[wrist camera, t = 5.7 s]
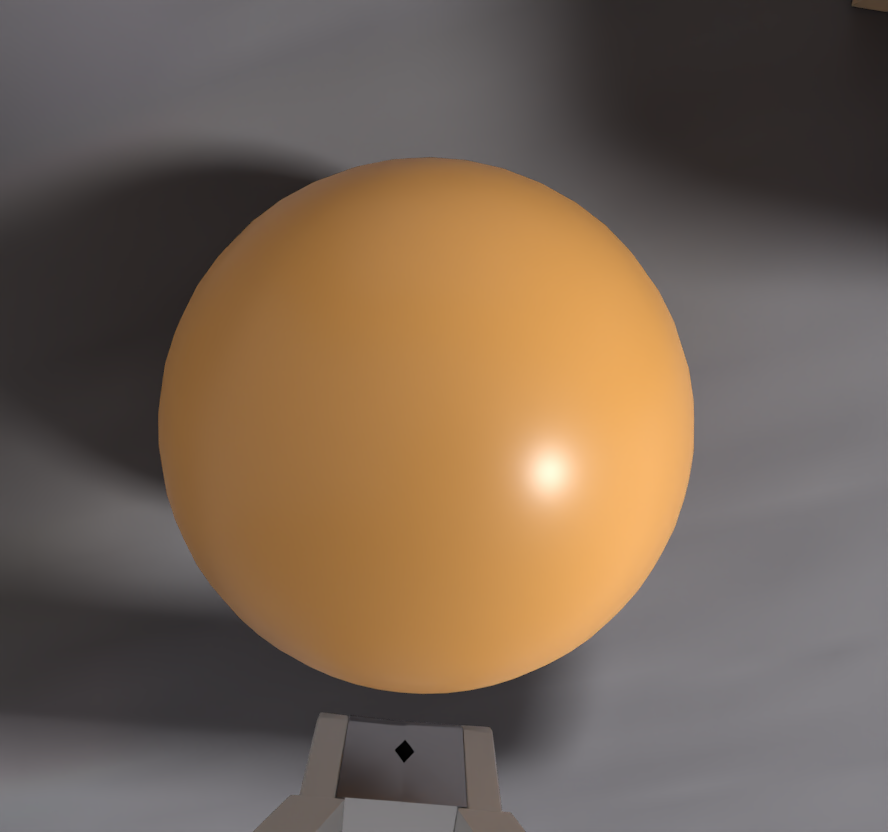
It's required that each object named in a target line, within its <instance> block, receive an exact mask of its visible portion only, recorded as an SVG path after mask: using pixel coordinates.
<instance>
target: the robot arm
mask: <svg viewBox="0 0 888 832" xmlns="http://www.w3.org/2000/svg"><path fill="white" fill-rule="evenodd" d="M253 832H526V831H525V830H524V829H523V827H522V826H521V825H520V824H519V822H518V821H517V820H516V818H515V817H514V816H513V815H512V813H510V812H502V806H501V797H500V789H499V781H498V772H497V764H496V756H495V748H494V739H493V732H492V730H491V728H490V727H482V726H468V725H462V726H461V725H453V724H440V723H426V722H413V721H399V720H390V719H381V718H372V717H363V716H355V715H350V717H349V716H348V715H339V714H331V713H323V712H320V714H319V717H318V719H317V722H316V727H315V731H314V735H313V739H312V744H311V748H310V752H309V756H308V761H307V765H306V769H305V774H304V778H303V782H302V786H301V791H300V795H290V796H289V797H288V798H287V799H286V800H285V801H284V802H283V803H282V804H281V805H280V806H279V807H278V808H277V809H276V810H274V811H273V812H272V813H271V814H270V815H269V816H268V817H267V818H266V819H265V820H264V821H263V822H262V823H261V824H260V825H259V826H258V827H257V828H256V829H255V830H254V831H253Z"/></svg>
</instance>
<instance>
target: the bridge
mask: <svg viewBox="0 0 888 832" xmlns="http://www.w3.org/2000/svg"><path fill="white" fill-rule="evenodd" d="M851 6H853V7H860V8H866V9H872V10H878V11H884V12H888V0H853V1H852V5H851Z"/></svg>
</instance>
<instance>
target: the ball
mask: <svg viewBox="0 0 888 832" xmlns="http://www.w3.org/2000/svg"><path fill="white" fill-rule="evenodd" d="M158 432H159V450H160V456H161V463H162V469H163V475H164V481H165V486H166V492H167V496H168V499H169V502H170V505H171V508H172V511H173V514H174V517H175V520H176V523H177V525H178V527H179V529H180V531H181V534H182V536H183V538H184V540H185V542H186V544H187V546H188V548H189V550H190V552H191V554H192V556H193V558H194V560H195V562H196V564H197V566H198V567H199V569H200V570H201V571H202V573H203V574H204V576H205V577H206V579H207V580H208V582H209V583H210V585H211V586H212V587H213V588H214V589H215V591H216V592H217V593H218V594H219V595H220V596H221V598H222V599H223V600H224V601H225V602H226V603H227V604H228V605H229V607H230V608H231V609H232V610H233V611H234V612H235V613H236V615H237V616H238V617H239V618H240V619H241V620H242V621H243V622H244V623H246V624H247V625H248V626H249V627H250V628H251V629H252V630H253V631H255V632H256V633H257V634H258V635H259V636H261V637H262V638H263V639H265V640H266V641H268V642H269V643H270V644H272V645H273V646H275V647H276V648H278V649H279V650H281V651H282V652H284V653H286V654H288V655H290V656H291V657H293V658H295V659H297V660H298V661H300V662H302V663H304V664H306V665H308V666H309V667H311V668H314V669H316V670H318V671H320V672H323V673H325V674H327V675H330V676H332V677H335V678H338V679H341V680H344V681H347V682H350V683H353V684H356V685H361V686H365V687H369V688H374V689H378V690H385V691H392V692H400V693H417V694H434V693H452V692H460V691H468V690H474V689H478V688H483V687H488V686H492V685H496V684H499V683H502V682H505V681H508V680H512V679H515V678H517V677H520V676H522V675H524V674H527V673H529V672H531V671H534V670H536V669H538V668H541V667H543V666H545V665H547V664H549V663H551V662H553V661H555V660H557V659H558V658H560V657H562V656H564V655H566V654H568V653H569V652H571V651H572V650H574V649H575V648H577V647H578V646H579V645H581V644H582V643H584V642H585V641H587V640H588V639H590V638H591V637H592V636H593V635H594V634H595V633H596V632H597V631H599V630H600V629H601V628H602V627H603V626H604V625H605V624H607V623H608V622H609V621H610V620H611V619H612V618H613V617H614V616H615V615H616V614H617V613H618V612H619V611H620V610H621V609H622V608H623V607H624V606H625V605H626V604H627V602H628V601H629V600H630V599H631V598H632V597H633V596H634V594H635V593H636V592H637V591H638V590H639V589H640V587H641V586H642V584H643V583H644V581H645V580H646V578H647V577H648V575H649V574H650V572H651V571H652V569H653V568H654V566H655V564H656V562H657V561H658V559H659V557H660V555H661V554H662V552H663V550H664V548H665V546H666V544H667V542H668V540H669V538H670V536H671V534H672V532H673V530H674V528H675V525H676V522H677V519H678V516H679V513H680V510H681V507H682V504H683V501H684V497H685V493H686V489H687V485H688V481H689V476H690V470H691V464H692V458H693V452H694V400H693V393H692V387H691V380H690V373H689V368H688V365H687V362H686V358H685V355H684V352H683V349H682V346H681V343H680V339H679V336H678V333H677V330H676V327H675V324H674V321H673V319H672V317H671V315H670V313H669V311H668V309H667V307H666V305H665V303H664V301H663V299H662V297H661V295H660V293H659V291H658V289H657V288H656V286H655V285H654V283H653V282H652V281H651V279H650V278H649V276H648V275H647V274H646V272H645V271H644V269H643V268H642V267H641V265H640V264H639V262H638V261H637V260H636V258H635V257H634V256H633V254H632V253H631V251H630V250H629V249H628V248H627V247H626V246H625V245H624V244H623V243H622V242H621V241H620V240H619V239H618V238H617V237H616V236H615V235H614V234H613V233H612V232H611V231H610V229H609V228H608V227H607V226H606V225H604V224H603V223H602V222H601V221H599V220H598V219H597V218H595V217H594V216H593V215H591V214H590V213H589V212H588V211H586V210H585V209H584V208H582V207H581V206H580V205H578V204H577V203H576V202H574V201H572V200H570V199H569V198H567V197H565V196H563V195H561V194H560V193H558V192H556V191H554V190H552V189H551V188H549V187H547V186H545V185H544V184H541V183H539V182H537V181H535V180H532V179H529V178H527V177H524V176H522V175H519V174H516V173H514V172H511V171H508V170H506V169H503V168H499V167H495V166H490V165H486V164H481V163H477V162H473V161H468V160H459V159H446V158H434V157H424V158H407V159H392V160H387V161H382V162H377V163H372V164H367V165H363V166H358V167H354V168H351V169H348V170H346V171H343V172H340V173H337V174H335V175H332V176H329V177H326V178H323V179H321V180H318V181H315V182H313V183H311V184H309V185H307V186H306V187H304V188H302V189H300V190H298V191H296V192H294V193H293V194H291V195H289V196H287V197H285V198H283V199H281V200H280V201H279V202H277V203H276V204H275V205H273V206H272V207H271V208H269V209H268V210H267V211H265V212H264V213H263V214H261V215H260V216H259V217H257V218H256V219H255V220H253V221H252V222H251V223H250V224H249V225H248V226H247V227H246V228H245V229H244V230H243V231H242V232H241V233H240V234H239V235H238V236H237V237H236V238H235V239H234V240H233V241H232V242H231V243H230V244H229V245H228V246H227V248H226V249H225V250H224V251H223V252H222V253H221V254H220V255H219V256H218V257H217V259H216V260H215V261H214V263H213V264H212V266H211V267H210V268H209V270H208V271H207V273H206V274H205V275H204V277H203V278H202V280H201V281H200V282H199V284H198V285H197V287H196V289H195V291H194V293H193V295H192V297H191V299H190V301H189V303H188V305H187V307H186V309H185V311H184V313H183V315H182V317H181V319H180V322H179V324H178V326H177V329H176V331H175V334H174V337H173V340H172V343H171V346H170V350H169V353H168V356H167V359H166V362H165V368H164V375H163V382H162V389H161V396H160V404H159V412H158Z"/></svg>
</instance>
